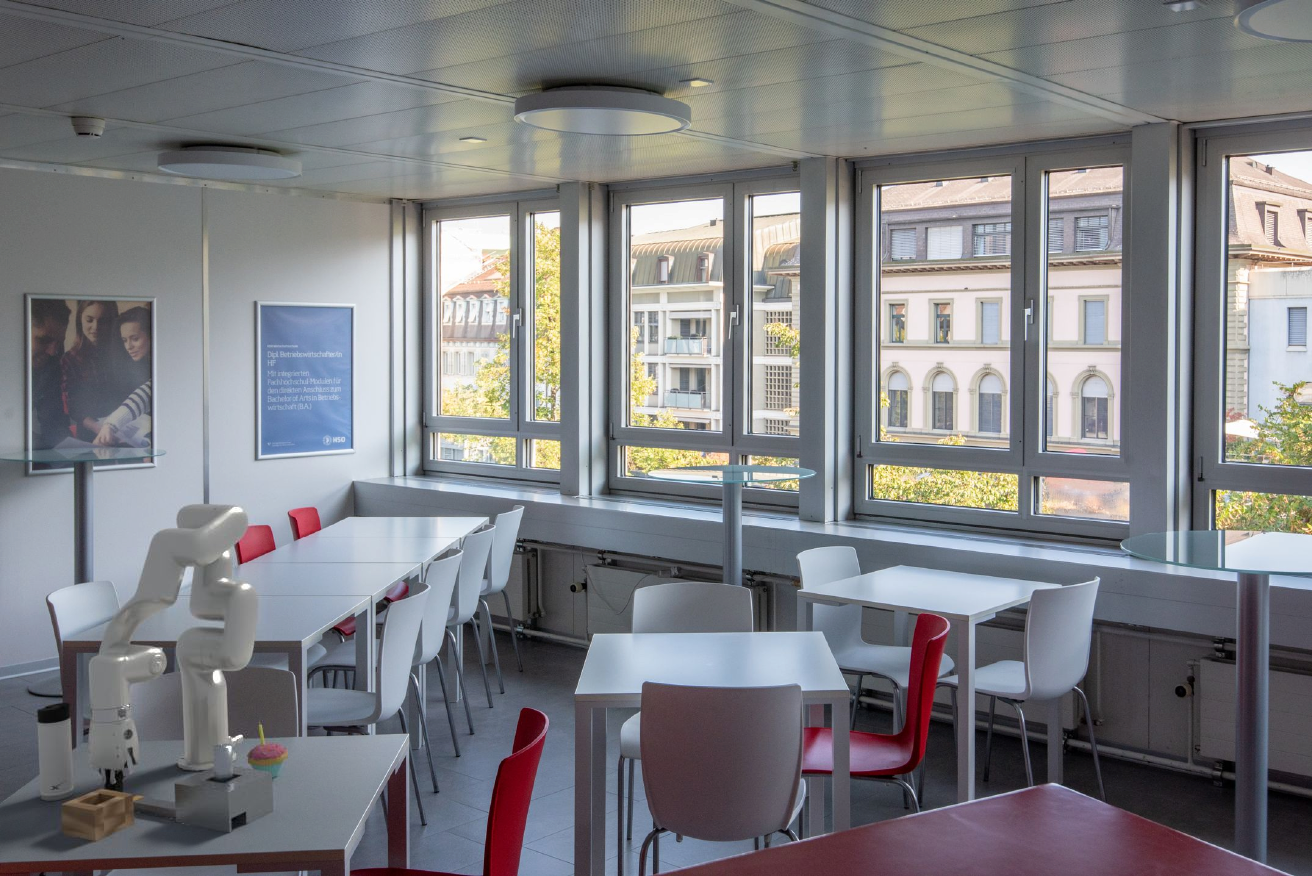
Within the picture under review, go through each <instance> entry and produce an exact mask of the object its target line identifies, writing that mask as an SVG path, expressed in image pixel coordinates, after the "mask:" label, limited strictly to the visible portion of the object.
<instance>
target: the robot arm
mask: <svg viewBox="0 0 1312 876" xmlns="http://www.w3.org/2000/svg"><path fill="white" fill-rule="evenodd" d="M248 517H249V516H248V514H247V512H246V511H245V510H244V508H242V507H240V506H238V505H235V504H217V503H216V504H215V503H214V504H213V503H212V504H211V503H193V504H188V505H185V506H182V507H181V508H180V509H179V510H178V512H177V515H176V519H175V520H176V526H177V528H176V527H175V528H171V527H170V528H164V529H161V530H159V531H157V532H156V533H155V534H154V535H153V536H152V539H151V541H150V544H149V546H148V551H147V554H146V557H145V560H144V564H143V567H142V570H141V574H140V576H139V581H138V584H137V588H136V591H135V592H134V595H133V596H132V597H131V598H130V599H129V600H128V601H126V603H125V604H124V605H122V607H121V608H119V610H118V611H117V613H116V614H115V615H114V616H113V618H111V620H110V622H109V623H108V625H107V626H106V628H105V631H104V634H103V638H102V640H101V644H100V646H99V649H98V650H99V651H98V654H97V655H95V656H93V657H91V658H90V660H89V662H88V680H89V681H88V683H89V705H90V707H89V708H90V710H89V711H90V722H89V727H88V729H89V730H88V738H87V739H88V740H87V741H88V743H87V745H88V754H87V755H88V760H89V761H88V762H89V764H90V765H91V766H92V769H93V770H94V771H96V772H98V773H99V774H100V775H101V780H102V781H101V782H103V783H104V789H105V790H111V791H117V792H122V793H124V780H125V779H126V777H127V776H130V775H133V774H135V769H134V766H136V765H138V764H139V763H140V748H139V739H138V733H137V728H136V723H135V721H134V719H133V718H132V709H131V708H132V707H131V688H130V687H131V685H134V684H140V683H142V684H143V683H147V682H148V683H149V682H151V681H154V680H156V679H158V678H159V677H160V676H162V674H163V673H164V672H165V670H166V668H167V663H168V661H167V660H168V659H167V656H166V653H165V652H164V651H163V650H162V649H160V648H158V647H156V646H152V645H142V644H141V645H140V644H131V641H132V638H133V635H134V634H135V632H136V631H137V629H138V628H139V627H140V626H141V624H143V623H144V622H145V621H146V620H148V619H149V618H151V617H152V616H154V615H156V614H159V613H161V612H162V611H165V610H166V609H169V608H170V607H172V606H174V605H175V604H176V603H177V600H178V596H179V593H180V589H181V586H182V584H183V583H182V582H183V579H184V575H185V572H186V569H187V568H188V567H190V568H193V571H192V574H193V575H192V580H191V586H190V587H191V588H190V595H189V607H188V609H189V612H190V614H191V616H192V617H193V618H195V619H196V620H201V621H207V622H208V621H209V622H220V623H221V622H223V623H224V625H223V626H224V627H217V626H216V627H214V626H195V627H194V626H193V627H190V628H188V629H186V630H184V631H183V632H181V634H180V635H179V637H178V639H177V641H176V646H175V654H176V655H175V656H176V660H177V664H178V668H179V672H180V677H181V688H182V689H181V690H182V716H183V718H182V719H183V737H184V738H183V739H184V741H183V742H184V743H183V744H184V755H182V756H180V758H178V760H177V766H178V768H180V769H181V768H182V770H186V771H205V770H207V769H210V768H212V767H214V756H213V747H214V746H216V745H219V744H232V748H233V747H234V746H235V745H236V746H237V745H239V744H241V743H243V742H244V737H243V735H242V734H238V735H235V736H229V718H228V695H227V694H228V691H227V689H228V687H227V681H226V679H225V678H226V677H225V675H224V674H223V672H222V671H224V672H225V671H226V672H227V671H228V672H236V671H241V670H243V669H244V668H245V667H246V666H247V665H248V664H249V662H250V661H251V658H252V656H253V653H254V647H255V639H256V631H257V624H258V616H259V604H260V603H259V602H260V601H259V596H258V593H257V591H256V589H255V587H254V586H253V585H251V584H250V583H249V582H246V581H242V580H233V569H234V566H233V565H234V557H233V552H232V549H231V548H233V547H234V546H235V545H236V544H238V543H239V542H240V541H241V539H243V537H244V536H245V534H246V532H247V530H248V527H249V518H248ZM232 751H233V762H234V761H235V760H236V759H237V752H236V751H235V750H233V749H232Z"/></svg>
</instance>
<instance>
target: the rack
mask: <svg viewBox="0 0 1312 876" xmlns="http://www.w3.org/2000/svg"><path fill="white" fill-rule="evenodd" d="M133 797H134V794H132V793H127V792H123V793H122V792H117V791H111V790H105V788H99V789H97V790H93V791H91V792H89V793H88V792H87V793H86V794H84V795H82V796H77V797H76V798H74V799H71V800H68V801H66V802H64V803H61V826H62V835H63V834H64V835H63V836H70V837H74V838H78V837H81V838H80V839H83V840H89V841H93V842H97V841H99V840H101V839H104V838H106V837H108V836H110V835H113V834H114V832H115V833H117V832H119V831H122V830H124V829H126V828H128V827H130V825H131V826H133V825H134V824H135V812H134V807H133ZM127 826H128V827H127ZM125 827H126V828H125ZM123 828H124V829H123ZM121 829H122V830H121ZM116 831H117V832H116Z"/></svg>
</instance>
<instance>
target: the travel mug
mask: <svg viewBox="0 0 1312 876" xmlns="http://www.w3.org/2000/svg"><path fill="white" fill-rule="evenodd" d="M70 707H71V704H70V702H59V703H54V704H50V705H47V706H44V707H43V708H38V709H37V710H36V715H37V716H36V717H37V722H36V723H37V740H38V741H37V742H38V762H39V763H38V765H39V766H38V767H39V785H40V786H39V787H40V799H41V800H42V801H45V802H46V801H47V802H55V801H60V800H64V799H68V798H70V797H72V795H73V794H74V791H75V790H74V770H73V769H74V766H73V746H72V745H73V744H72V742H73V741H72V724H71V723H72V722H71V709H70Z"/></svg>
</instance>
